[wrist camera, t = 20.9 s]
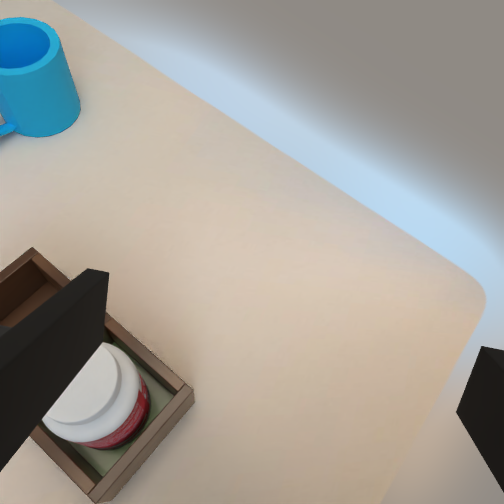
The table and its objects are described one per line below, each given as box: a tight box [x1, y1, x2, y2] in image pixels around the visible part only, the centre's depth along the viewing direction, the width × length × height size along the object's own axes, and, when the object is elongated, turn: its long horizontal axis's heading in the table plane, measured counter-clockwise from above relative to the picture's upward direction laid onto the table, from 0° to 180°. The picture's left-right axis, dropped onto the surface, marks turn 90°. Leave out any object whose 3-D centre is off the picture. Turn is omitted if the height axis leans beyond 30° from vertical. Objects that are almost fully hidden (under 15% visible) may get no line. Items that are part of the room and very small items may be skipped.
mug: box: [0, 17, 80, 137], centre depth 45 cm, size 12×8×8 cm
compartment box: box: [0, 247, 195, 504], centre depth 34 cm, size 18×9×5 cm, turn 51°
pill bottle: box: [42, 342, 151, 450], centre depth 30 cm, size 6×6×11 cm
